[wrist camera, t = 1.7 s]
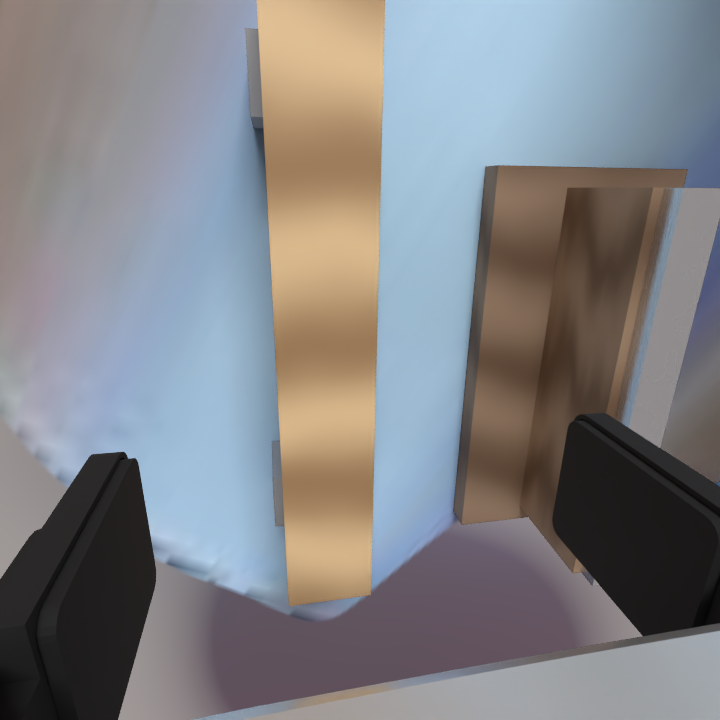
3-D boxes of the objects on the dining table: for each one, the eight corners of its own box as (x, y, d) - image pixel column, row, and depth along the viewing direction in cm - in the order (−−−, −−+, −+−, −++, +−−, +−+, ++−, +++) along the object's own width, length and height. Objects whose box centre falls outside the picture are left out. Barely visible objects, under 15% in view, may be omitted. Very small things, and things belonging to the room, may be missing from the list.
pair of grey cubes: (249, 55, 22) (245, 28, 18) (357, 61, 22) (374, 36, 19) (274, 483, 29) (275, 526, 26) (353, 476, 30) (365, 516, 27)
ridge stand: (485, 166, 25) (584, 157, 17) (666, 170, 27) (828, 163, 19) (453, 510, 33) (512, 612, 25) (596, 494, 35) (692, 584, 27)
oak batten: (256, -19, 18) (252, -74, 14) (362, -10, 18) (386, -60, 15) (286, 547, 26) (288, 606, 23) (356, 539, 27) (370, 595, 23)
